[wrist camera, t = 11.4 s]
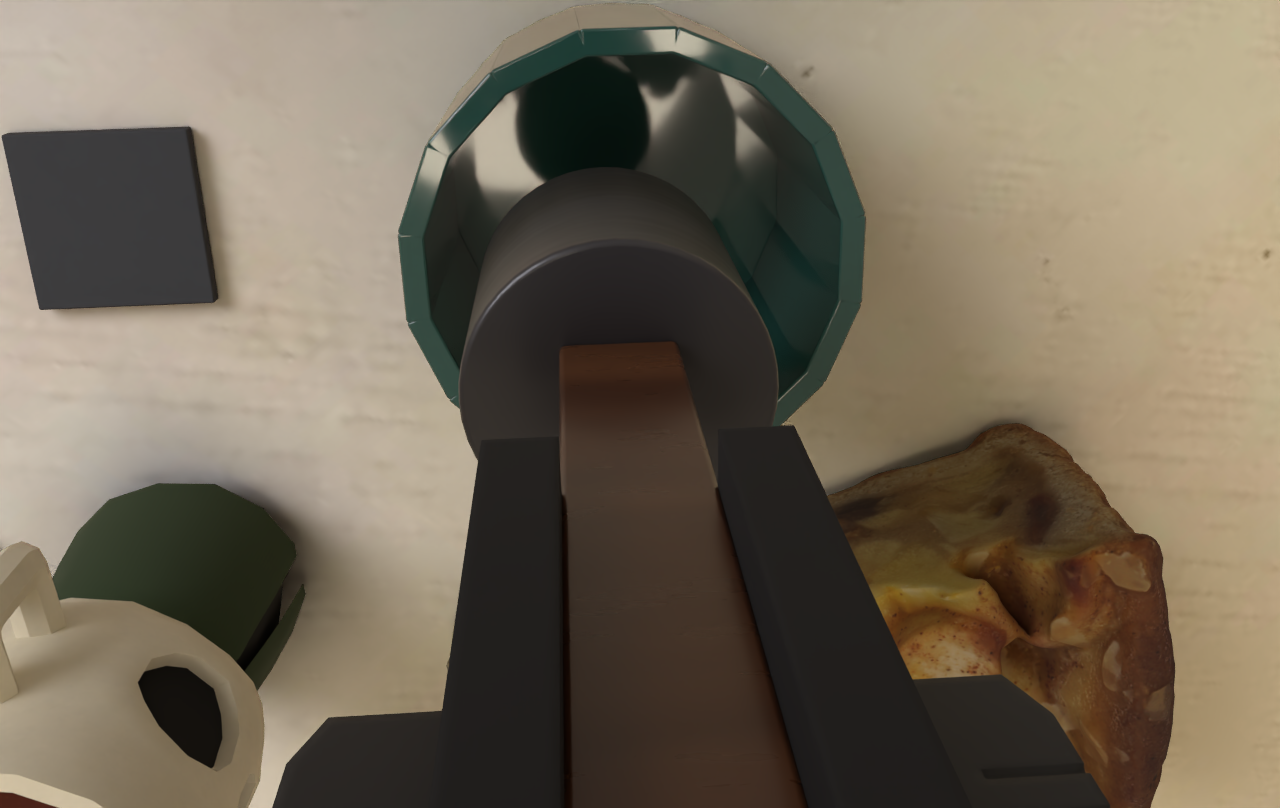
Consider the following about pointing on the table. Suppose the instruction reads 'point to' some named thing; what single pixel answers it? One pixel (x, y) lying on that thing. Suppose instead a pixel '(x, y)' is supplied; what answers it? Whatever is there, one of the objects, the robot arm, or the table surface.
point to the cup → (650, 143)
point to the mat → (112, 217)
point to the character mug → (143, 654)
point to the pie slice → (1026, 593)
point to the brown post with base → (637, 481)
